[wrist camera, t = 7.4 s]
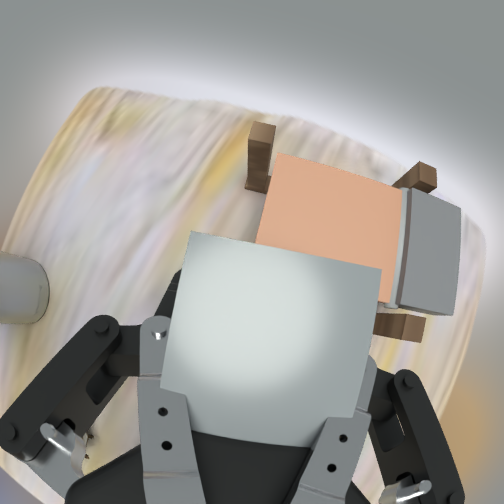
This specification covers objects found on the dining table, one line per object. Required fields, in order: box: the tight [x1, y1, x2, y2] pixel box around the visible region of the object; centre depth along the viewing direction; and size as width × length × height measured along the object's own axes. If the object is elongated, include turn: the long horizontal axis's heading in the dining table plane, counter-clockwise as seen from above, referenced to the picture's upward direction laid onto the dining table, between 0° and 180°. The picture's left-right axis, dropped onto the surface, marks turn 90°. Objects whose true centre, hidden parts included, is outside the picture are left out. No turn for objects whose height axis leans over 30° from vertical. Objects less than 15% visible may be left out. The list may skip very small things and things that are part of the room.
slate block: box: [160, 231, 382, 447], centre depth 11 cm, size 5×5×10 cm
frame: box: [245, 121, 437, 343], centre depth 27 cm, size 18×15×13 cm
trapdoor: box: [255, 153, 461, 315], centre depth 22 cm, size 18×11×3 cm, turn 76°
